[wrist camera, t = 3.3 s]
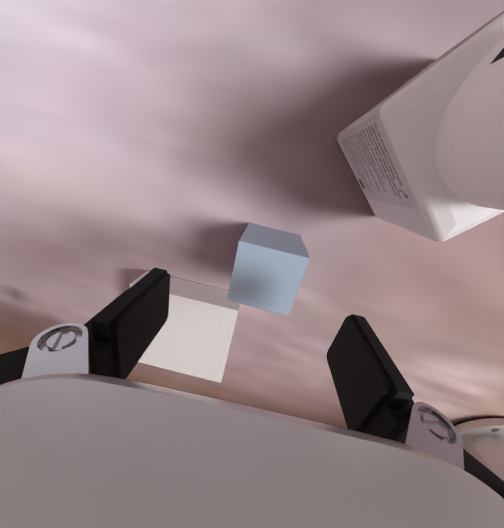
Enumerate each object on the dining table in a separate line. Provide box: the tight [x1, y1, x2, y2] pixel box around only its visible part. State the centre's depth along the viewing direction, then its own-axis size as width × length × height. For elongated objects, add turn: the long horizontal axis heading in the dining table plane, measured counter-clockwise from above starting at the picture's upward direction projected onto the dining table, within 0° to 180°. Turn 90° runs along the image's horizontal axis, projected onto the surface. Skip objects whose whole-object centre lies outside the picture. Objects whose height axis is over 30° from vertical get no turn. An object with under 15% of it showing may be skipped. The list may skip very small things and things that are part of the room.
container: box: [337, 11, 504, 241], centre depth 10 cm, size 8×8×13 cm
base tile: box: [130, 271, 240, 383], centre depth 23 cm, size 11×11×3 cm
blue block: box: [227, 223, 310, 316], centre depth 17 cm, size 5×5×6 cm
